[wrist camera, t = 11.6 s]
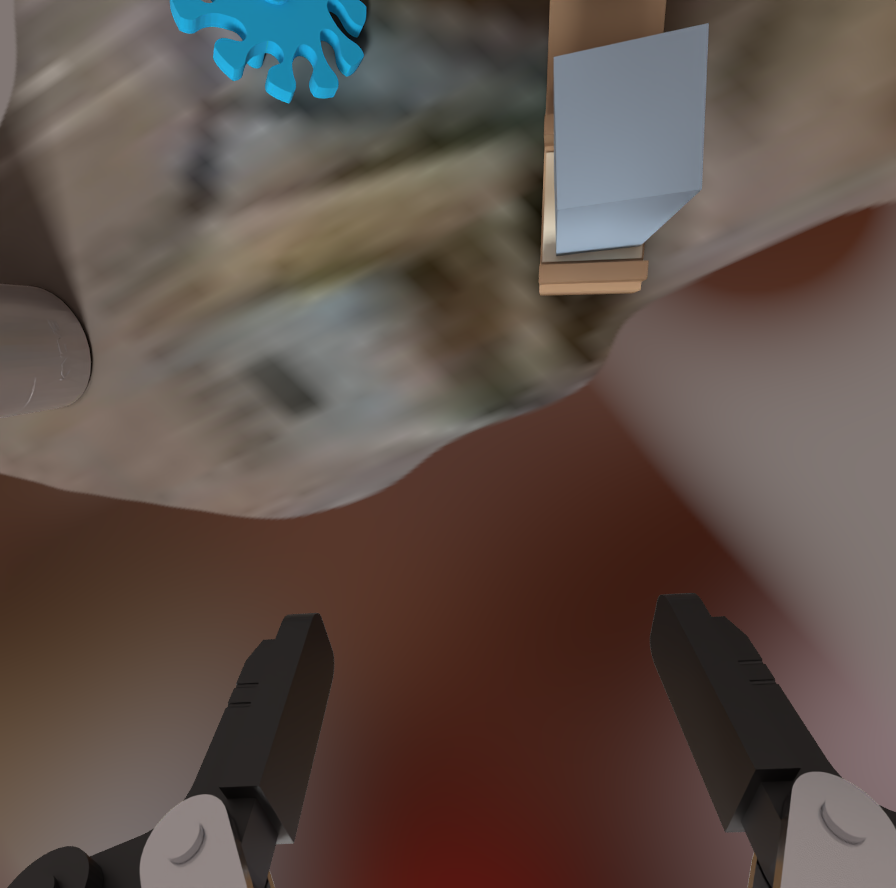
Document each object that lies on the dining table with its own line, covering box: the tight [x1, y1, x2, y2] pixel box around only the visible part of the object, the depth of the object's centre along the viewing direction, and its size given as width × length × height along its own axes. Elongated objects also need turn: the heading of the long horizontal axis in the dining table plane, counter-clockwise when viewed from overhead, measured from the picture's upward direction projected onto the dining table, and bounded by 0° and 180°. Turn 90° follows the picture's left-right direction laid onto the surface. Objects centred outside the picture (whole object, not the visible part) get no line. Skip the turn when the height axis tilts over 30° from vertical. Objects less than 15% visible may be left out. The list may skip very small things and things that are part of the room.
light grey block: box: [554, 23, 709, 256], centre depth 18 cm, size 4×4×10 cm
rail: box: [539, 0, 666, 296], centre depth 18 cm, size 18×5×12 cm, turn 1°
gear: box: [170, 0, 366, 103], centre depth 24 cm, size 11×6×10 cm
